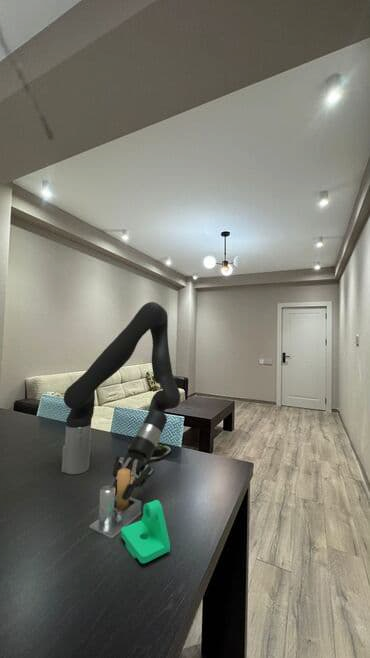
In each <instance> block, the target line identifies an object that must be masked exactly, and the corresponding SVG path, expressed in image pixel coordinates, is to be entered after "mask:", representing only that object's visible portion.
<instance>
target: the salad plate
mask: <svg viewBox="0 0 370 658" xmlns="http://www.w3.org/2000/svg"><path fill="white" fill-rule="evenodd" d="M130 446H131V444H129V445H128V446H127V447H128V448H129V447H130ZM171 452H172V449H171V448H170V446H168V445H163V444H159V443H158V444H157V446H156V448H155V450H154V452H153V454H152V457H151V459H150V460H149V462H150V461H154V462H159V461H161V459H162V460H164V459H165V458H167V457H168V456H169V455H170V454H171Z"/></svg>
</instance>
